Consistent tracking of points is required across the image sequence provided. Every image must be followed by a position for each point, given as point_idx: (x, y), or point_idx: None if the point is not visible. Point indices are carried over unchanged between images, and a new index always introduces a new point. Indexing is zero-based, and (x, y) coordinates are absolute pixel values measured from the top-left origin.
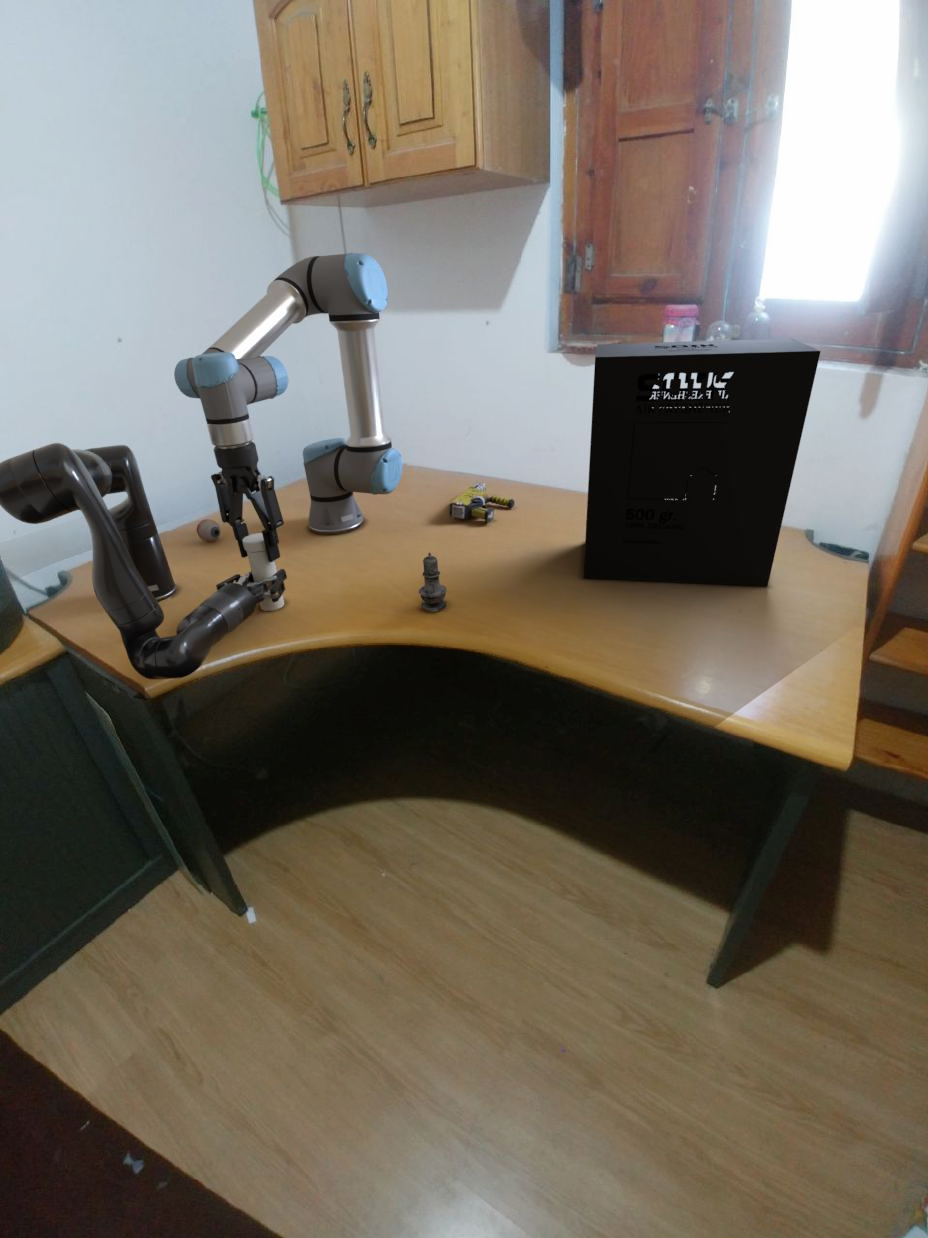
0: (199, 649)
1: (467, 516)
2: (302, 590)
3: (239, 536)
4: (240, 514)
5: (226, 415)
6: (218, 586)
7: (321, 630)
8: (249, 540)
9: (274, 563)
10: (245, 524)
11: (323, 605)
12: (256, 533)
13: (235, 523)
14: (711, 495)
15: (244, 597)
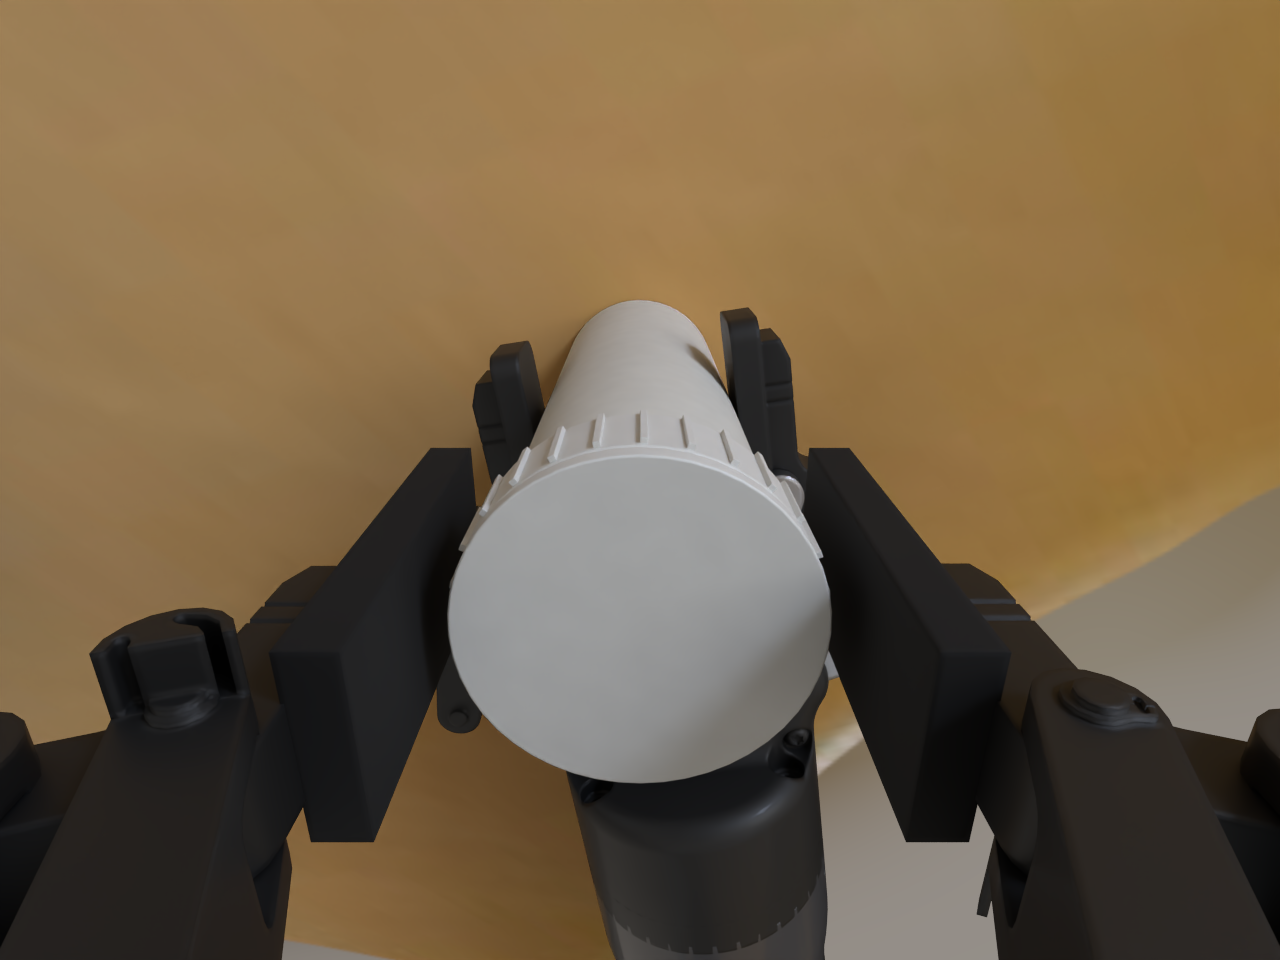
0: None
1: None
2: (699, 107)
3: (417, 727)
4: (235, 881)
5: None
6: (470, 728)
7: (1090, 510)
8: (608, 721)
9: (744, 434)
10: (347, 661)
11: (971, 258)
12: (509, 507)
13: (287, 858)
14: None
15: (813, 833)
